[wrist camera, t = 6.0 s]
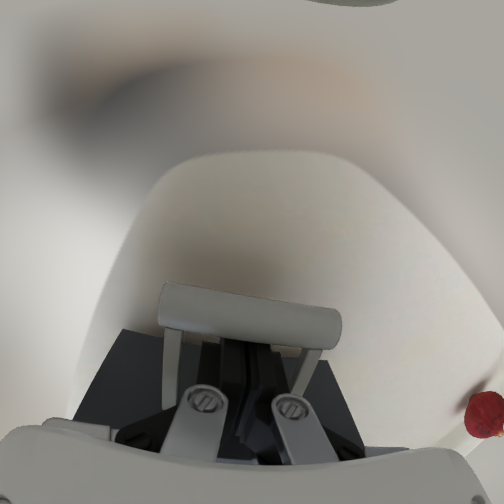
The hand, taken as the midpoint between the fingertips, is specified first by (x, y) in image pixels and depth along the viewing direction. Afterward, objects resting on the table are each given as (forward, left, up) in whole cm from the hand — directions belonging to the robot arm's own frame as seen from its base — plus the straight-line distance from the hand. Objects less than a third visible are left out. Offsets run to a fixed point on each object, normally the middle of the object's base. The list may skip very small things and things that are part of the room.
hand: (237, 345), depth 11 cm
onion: (+27, +19, -4) cm, 33 cm away
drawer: (+5, -4, -3) cm, 8 cm away
